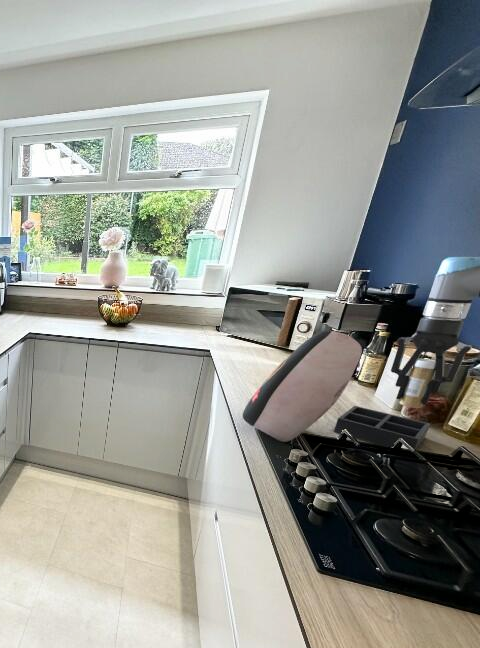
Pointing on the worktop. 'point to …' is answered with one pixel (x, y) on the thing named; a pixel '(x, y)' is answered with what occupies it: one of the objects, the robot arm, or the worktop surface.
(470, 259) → the robot arm
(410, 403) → the sprinkles bottle
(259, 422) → the pinkish grey rounded block
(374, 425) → the grid
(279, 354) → the worktop surface
